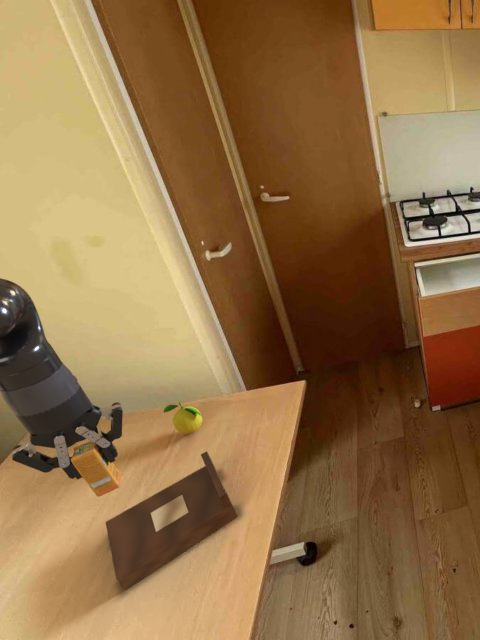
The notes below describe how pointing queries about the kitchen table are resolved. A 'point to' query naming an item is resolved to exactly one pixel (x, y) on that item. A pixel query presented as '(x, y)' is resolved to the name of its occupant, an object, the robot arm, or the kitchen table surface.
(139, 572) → the shelf
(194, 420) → the lemon
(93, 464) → the supplement box
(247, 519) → the kitchen table surface
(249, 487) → the kitchen table surface
